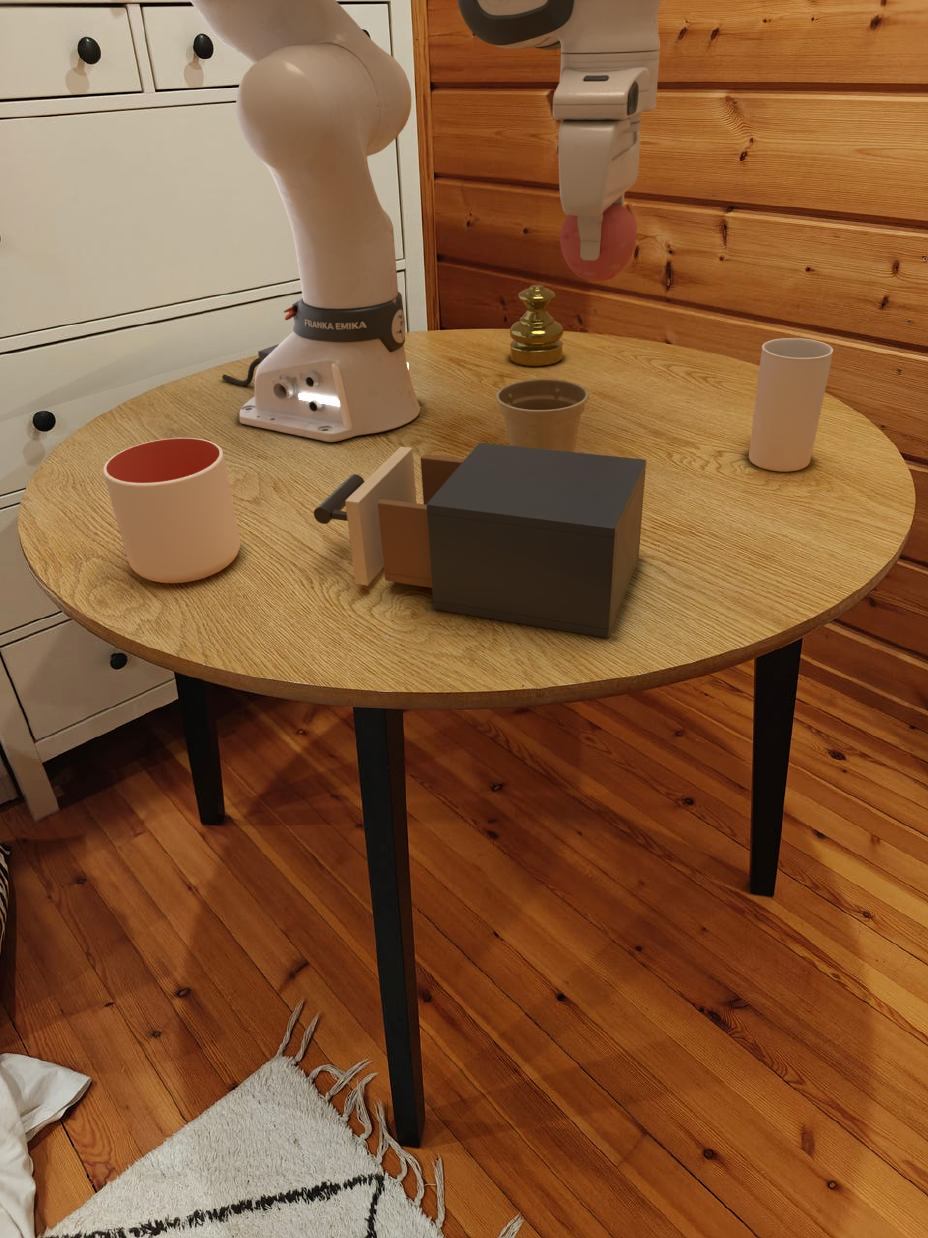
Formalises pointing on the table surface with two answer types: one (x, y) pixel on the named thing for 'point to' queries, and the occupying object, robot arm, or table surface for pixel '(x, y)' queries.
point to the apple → (615, 245)
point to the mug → (788, 402)
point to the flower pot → (542, 413)
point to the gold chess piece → (536, 330)
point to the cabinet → (537, 537)
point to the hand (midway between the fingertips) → (599, 249)
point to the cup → (174, 509)
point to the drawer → (389, 517)
